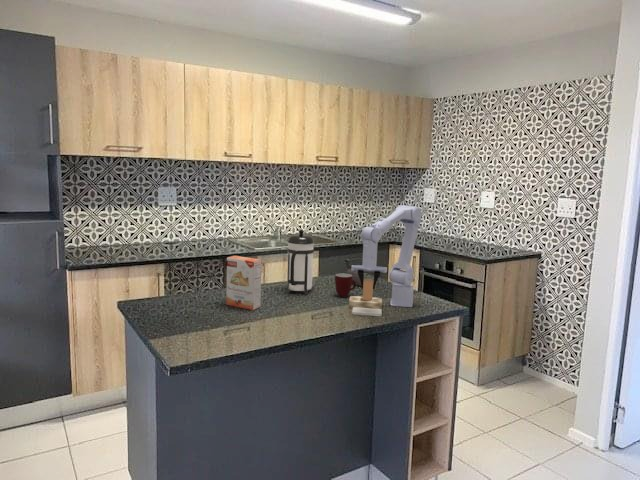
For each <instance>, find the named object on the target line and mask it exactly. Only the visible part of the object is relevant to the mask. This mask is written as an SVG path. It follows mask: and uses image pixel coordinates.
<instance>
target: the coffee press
mask: <svg viewBox="0 0 640 480" xmlns="http://www.w3.org/2000/svg"><path fill="white" fill-rule="evenodd" d="M314 244H315V240H314V237H312V236H311V235H308V234H304V230H303V229H300V230H298V234H292V235H291V236H289V237H288V239H287V251H286V252H287V269H286V270H287V272H286V273H287V274H286V276H287V279H286V280H287V281H286V285H287V286H286V289H284V292H285V293H286V294H288V293H287V292H289V293H290V292H291V291H294V292H303V295H304V296H307V295H309V291H314V289H315V288H314V287H313V271H314V270H313V269H314V267H313V266H314V251H315V248H314Z"/></svg>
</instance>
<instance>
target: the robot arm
mask: <svg viewBox="0 0 640 480" xmlns="http://www.w3.org/2000/svg"><path fill="white" fill-rule="evenodd" d="M422 216H423V212H422V209H421V208H420V207H419V206H412V205H404V204H400V205H398V206H396V208H395V210H394V211H393V212H392V213H390V215H388V216H387V217H386V218H385V217H380V218H378V220H377V221H375V222H374V223H371V225H370V226H365V227H364V228H363V229H362V230H361V233H360V238H361V241H362V248H363V249H362V264H361V265H360V264H357V265H356V264H355V265H354V264H352V265H351V268H350V269H351V271H354V270H355V271H358V276H359V278H360V281H361V286H360V287H361V290H363V282H364V281H363V279H364V278H365V272H372V273H374V274H373V279H374V280H373V290H376V289H375V288H376V285H377V281H379V277H380V276H381V273H384V274H386V273H387V272H388V267H385V266H379V265H377V261H378V242H379V241H380V240H381V239H382V236H383V235H384V234H386V233H387V232H388V231H389V230H390V229H391V226H393V225H394V224H396V223H397V222H399V221H400V223H401V224H402V225H404V227H405V229H404V230H405V231H404V235H403V239H402V243H401V247H400V252H399V257H398V260H397V262H395V263H393V265H392V267H391V270H390V271H389V274H388V279H389V281H390V284H391V285H392V288H391V299H390V300H389V301H390V306H392V307H406V308H413V303H414V285H412V284H413V281H414V278H415V276H414V272H415V270H414V267H412V266H411V262H412V257H413V252H414V248H415V243H416V240H417V235H418V232H419V231H418V230H419V227H420V225H421V221H422Z"/></svg>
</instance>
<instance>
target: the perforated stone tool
mask: <svg viewBox="0 0 640 480" xmlns="http://www.w3.org/2000/svg"><path fill="white" fill-rule="evenodd" d="M345 274H351V275H352V280H354V281H355V282H356V286H359V287H362V286H361V281H360V278H359V276H358V271H355V270H354V271H351V268H348V269H347V270H346V272H345ZM364 279H366V278H365V277H364ZM364 279H363V281H364ZM352 285H354V283H353V282H352Z"/></svg>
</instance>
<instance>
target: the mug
mask: <svg viewBox="0 0 640 480" xmlns="http://www.w3.org/2000/svg"><path fill="white" fill-rule="evenodd" d="M334 277H335V278H334V283H335V290H336V293H337V295H338V297H340V298H347V297H348V296H349V294H350V292H351V291H353V290H354V289H356V288H357V285H356V282H355V281H354V280H352V275H351V274H346V272H345V273H344V272H343V273H342V272H341V273H336V274H335V275H334ZM352 282H353V283H354V284H353V283H352Z"/></svg>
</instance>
